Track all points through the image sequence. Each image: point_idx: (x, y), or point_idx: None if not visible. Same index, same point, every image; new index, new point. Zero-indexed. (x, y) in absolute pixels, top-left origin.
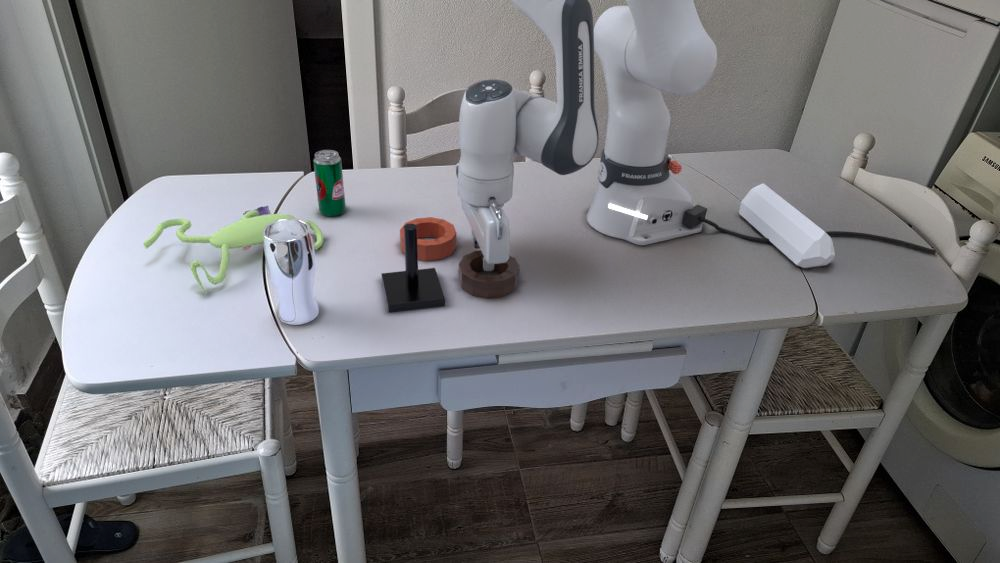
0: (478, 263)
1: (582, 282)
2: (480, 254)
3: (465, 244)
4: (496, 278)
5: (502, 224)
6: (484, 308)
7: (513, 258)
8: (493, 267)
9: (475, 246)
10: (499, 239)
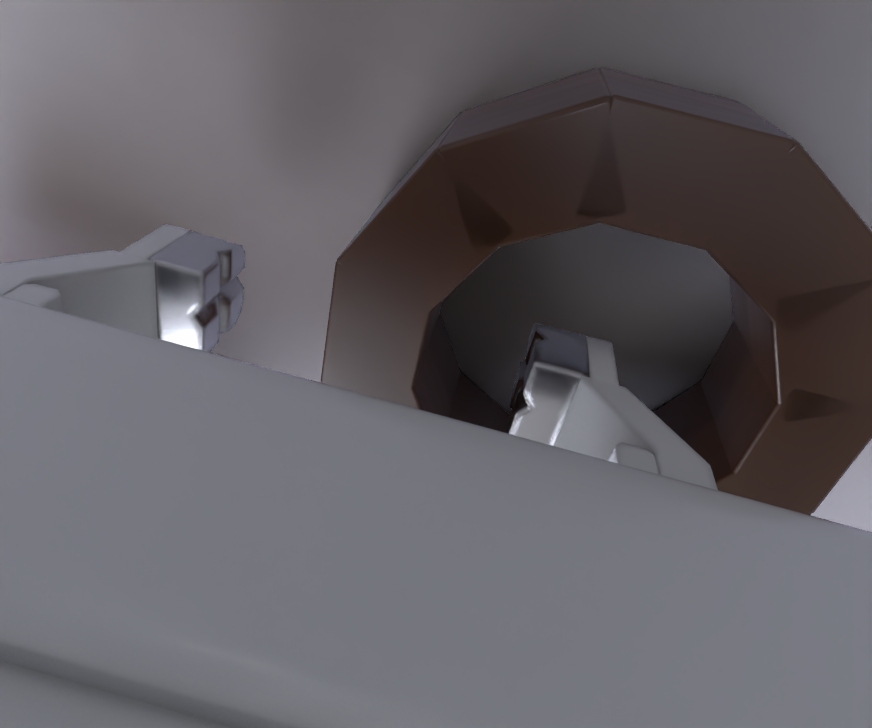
0: (429, 359)
1: None
2: (393, 373)
3: (65, 227)
4: (812, 444)
5: None
6: (841, 478)
7: (610, 119)
8: (610, 354)
9: (232, 320)
10: (599, 482)
